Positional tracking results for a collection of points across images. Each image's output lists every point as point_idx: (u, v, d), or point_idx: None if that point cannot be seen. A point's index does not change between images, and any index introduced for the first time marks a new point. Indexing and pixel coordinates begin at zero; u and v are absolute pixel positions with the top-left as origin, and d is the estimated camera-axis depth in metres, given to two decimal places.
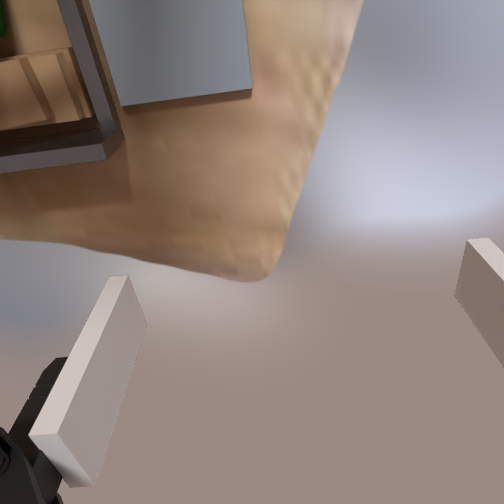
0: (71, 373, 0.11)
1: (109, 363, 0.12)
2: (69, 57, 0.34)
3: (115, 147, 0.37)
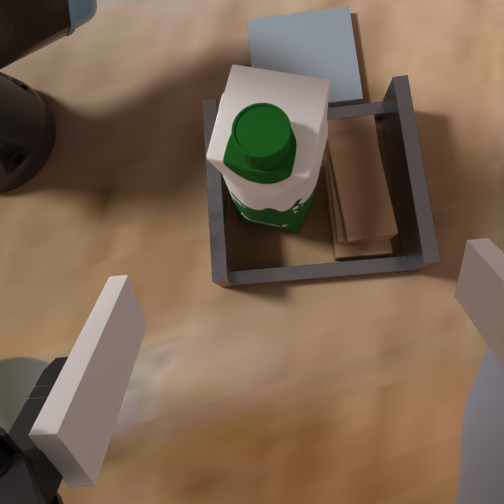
0: (71, 373, 0.11)
1: (109, 363, 0.12)
2: None
3: None
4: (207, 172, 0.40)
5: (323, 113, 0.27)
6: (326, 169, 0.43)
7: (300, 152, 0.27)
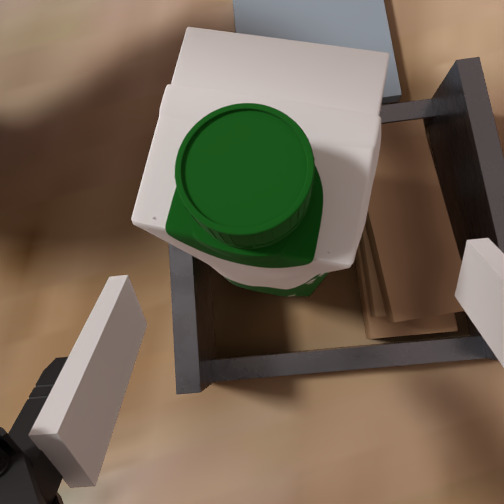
0: (71, 373, 0.11)
1: (109, 363, 0.12)
2: None
3: None
4: None
5: (378, 124, 0.13)
6: None
7: (331, 209, 0.12)
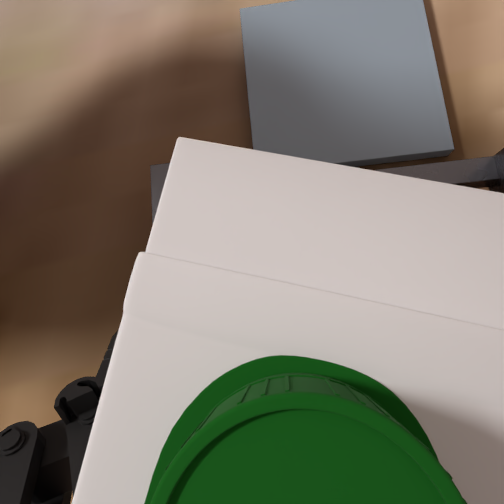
0: None
1: None
2: None
3: None
4: None
5: None
6: None
7: None
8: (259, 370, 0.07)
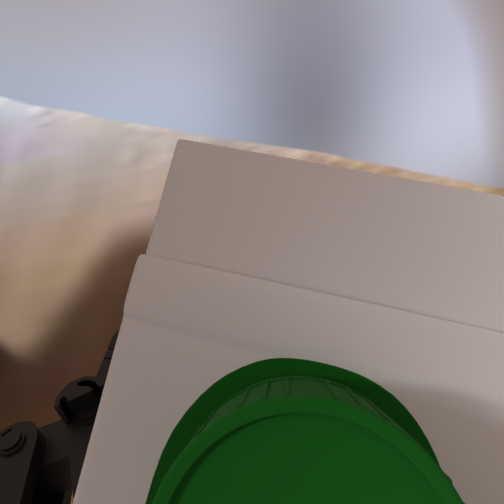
0: None
1: None
2: None
3: None
4: None
5: None
6: None
7: None
8: (260, 372, 0.07)
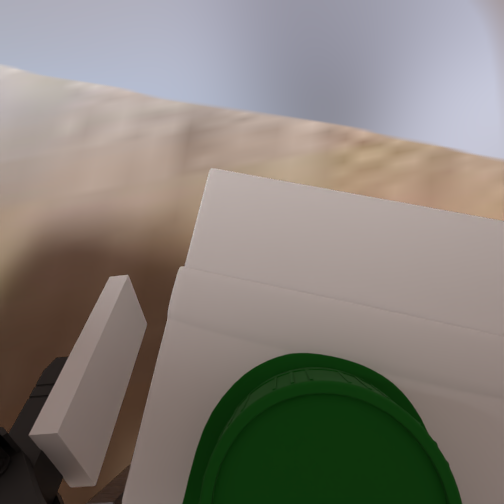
0: (71, 373, 0.11)
1: (109, 363, 0.13)
2: None
3: None
4: None
5: None
6: None
7: None
8: (282, 365, 0.08)
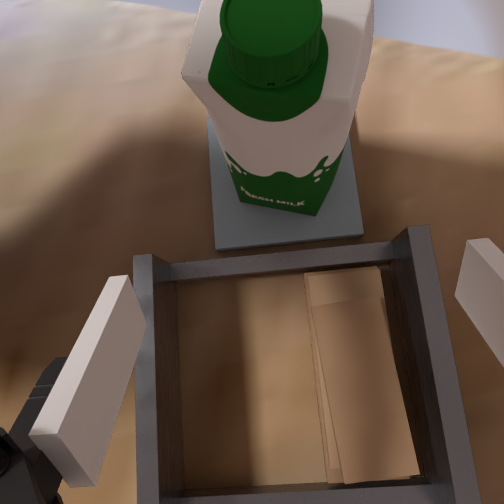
0: (71, 373, 0.11)
1: (109, 363, 0.12)
2: (312, 273, 0.32)
3: None
4: (136, 370, 0.27)
5: None
6: (313, 342, 0.31)
7: (334, 60, 0.16)
8: None
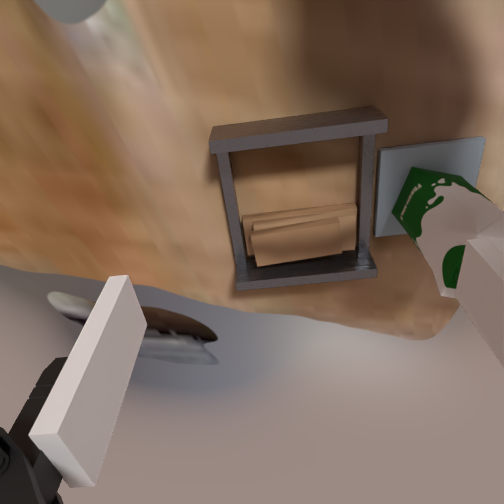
0: (71, 373, 0.11)
1: (109, 363, 0.12)
2: (356, 212, 0.53)
3: None
4: (310, 129, 0.42)
5: None
6: (315, 213, 0.53)
7: None
8: None
